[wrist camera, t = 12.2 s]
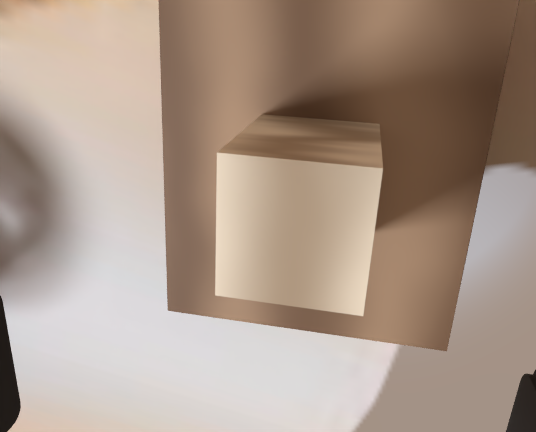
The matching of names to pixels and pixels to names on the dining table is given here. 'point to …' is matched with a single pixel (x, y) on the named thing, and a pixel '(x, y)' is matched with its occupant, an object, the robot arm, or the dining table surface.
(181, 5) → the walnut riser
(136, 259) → the dining table surface
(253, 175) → the birch block
